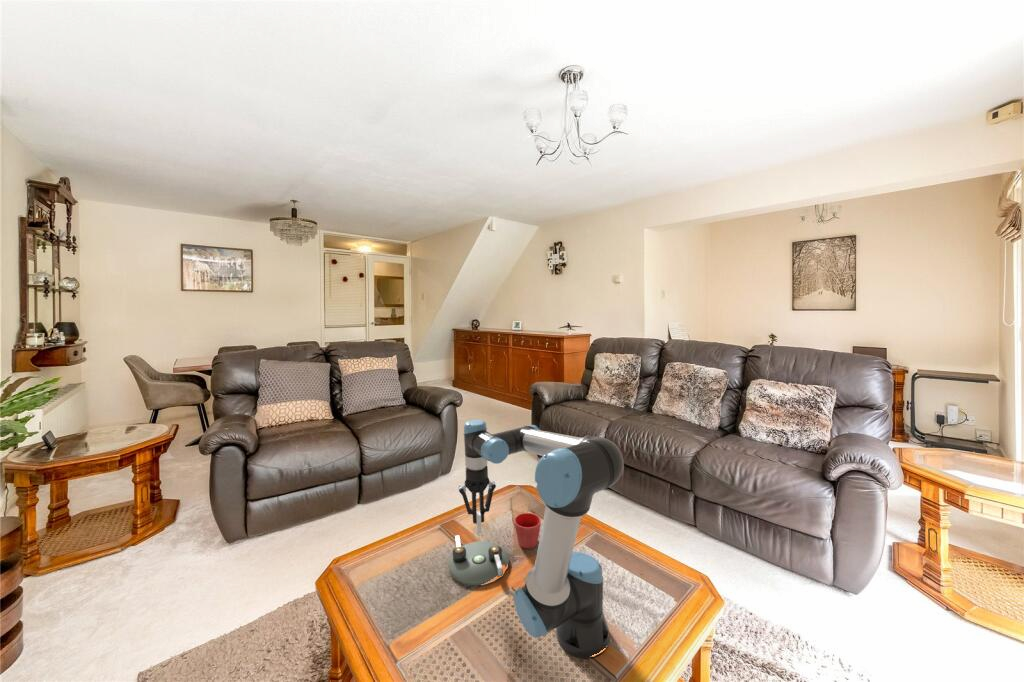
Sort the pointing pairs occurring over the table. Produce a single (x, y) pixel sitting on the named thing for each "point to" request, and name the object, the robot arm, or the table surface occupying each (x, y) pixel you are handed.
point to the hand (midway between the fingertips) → (478, 531)
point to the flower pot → (527, 529)
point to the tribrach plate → (476, 564)
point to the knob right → (496, 558)
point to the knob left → (459, 551)
